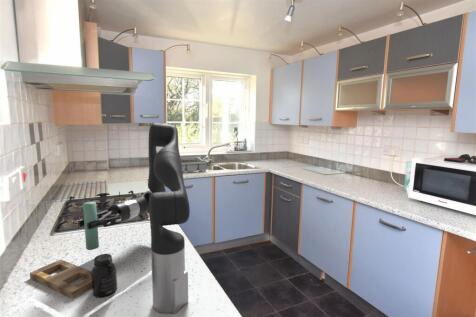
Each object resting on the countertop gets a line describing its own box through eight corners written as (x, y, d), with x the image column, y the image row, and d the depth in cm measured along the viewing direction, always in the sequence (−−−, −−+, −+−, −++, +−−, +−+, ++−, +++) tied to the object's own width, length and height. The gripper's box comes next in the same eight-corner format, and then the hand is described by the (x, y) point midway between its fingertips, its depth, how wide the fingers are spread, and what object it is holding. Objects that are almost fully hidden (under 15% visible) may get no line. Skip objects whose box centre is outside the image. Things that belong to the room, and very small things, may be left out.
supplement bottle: (89, 293, 87) (86, 256, 85) (112, 284, 91) (110, 249, 90) (97, 304, 82) (94, 265, 80) (121, 294, 87) (119, 257, 85)
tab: (113, 265, 103) (113, 263, 103) (91, 278, 95) (90, 275, 95) (97, 259, 107) (96, 257, 107) (74, 271, 99) (73, 268, 99)
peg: (101, 246, 100) (98, 202, 98) (91, 250, 97) (87, 205, 94) (94, 243, 102) (91, 200, 100) (83, 248, 99) (80, 203, 96)
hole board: (102, 284, 92) (102, 275, 91) (72, 301, 83) (72, 291, 82) (61, 267, 101) (60, 258, 101) (30, 281, 93) (29, 272, 92)
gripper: (111, 199, 113) (69, 211, 98) (137, 204, 107) (96, 218, 92) (112, 217, 115) (70, 232, 99) (138, 223, 108) (98, 240, 93)
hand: (83, 225), depth 96 cm, fingers closed on peg, 4 cm apart
